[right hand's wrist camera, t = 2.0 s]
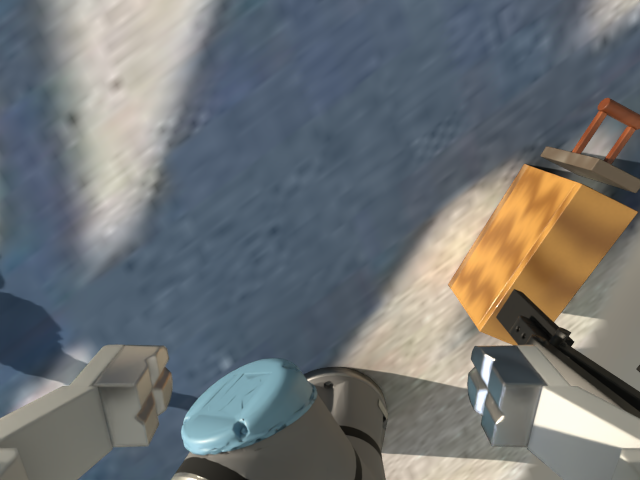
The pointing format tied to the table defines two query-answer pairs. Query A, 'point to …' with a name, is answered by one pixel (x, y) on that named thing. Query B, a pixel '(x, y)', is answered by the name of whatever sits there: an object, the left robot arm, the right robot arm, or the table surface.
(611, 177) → the drawer
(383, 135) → the table surface
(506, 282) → the cabinet
